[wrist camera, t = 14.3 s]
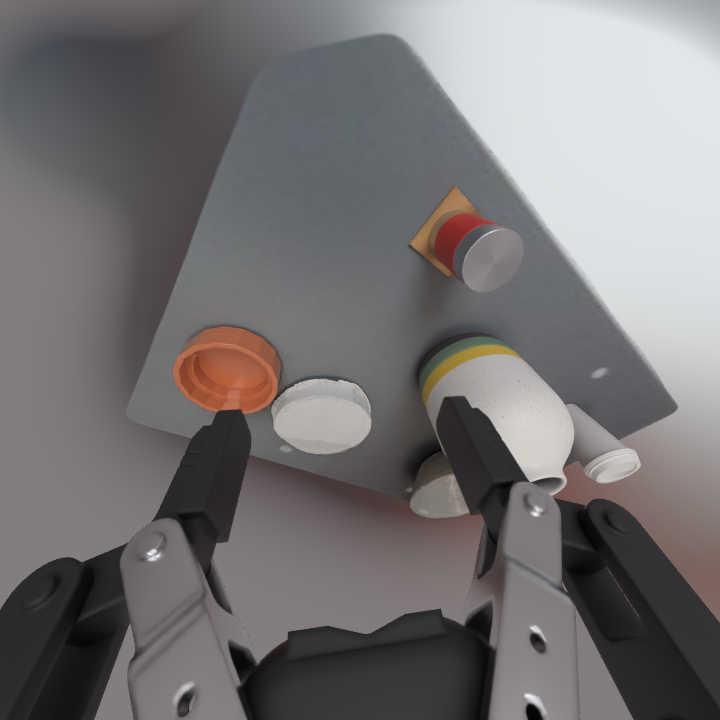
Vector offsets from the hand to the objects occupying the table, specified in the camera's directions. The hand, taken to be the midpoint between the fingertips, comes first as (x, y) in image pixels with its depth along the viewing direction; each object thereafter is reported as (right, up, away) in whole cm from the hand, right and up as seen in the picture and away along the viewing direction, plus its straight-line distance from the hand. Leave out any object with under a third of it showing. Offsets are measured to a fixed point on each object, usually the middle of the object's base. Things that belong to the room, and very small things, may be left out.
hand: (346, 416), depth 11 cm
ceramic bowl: (+23, -24, +59) cm, 68 cm away
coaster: (+13, +19, +25) cm, 34 cm away
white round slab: (-7, -8, +43) cm, 44 cm away
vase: (+19, +2, +39) cm, 43 cm away
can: (+13, +19, +24) cm, 33 cm away
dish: (-20, +2, +33) cm, 39 cm away
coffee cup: (+49, -10, +52) cm, 72 cm away
